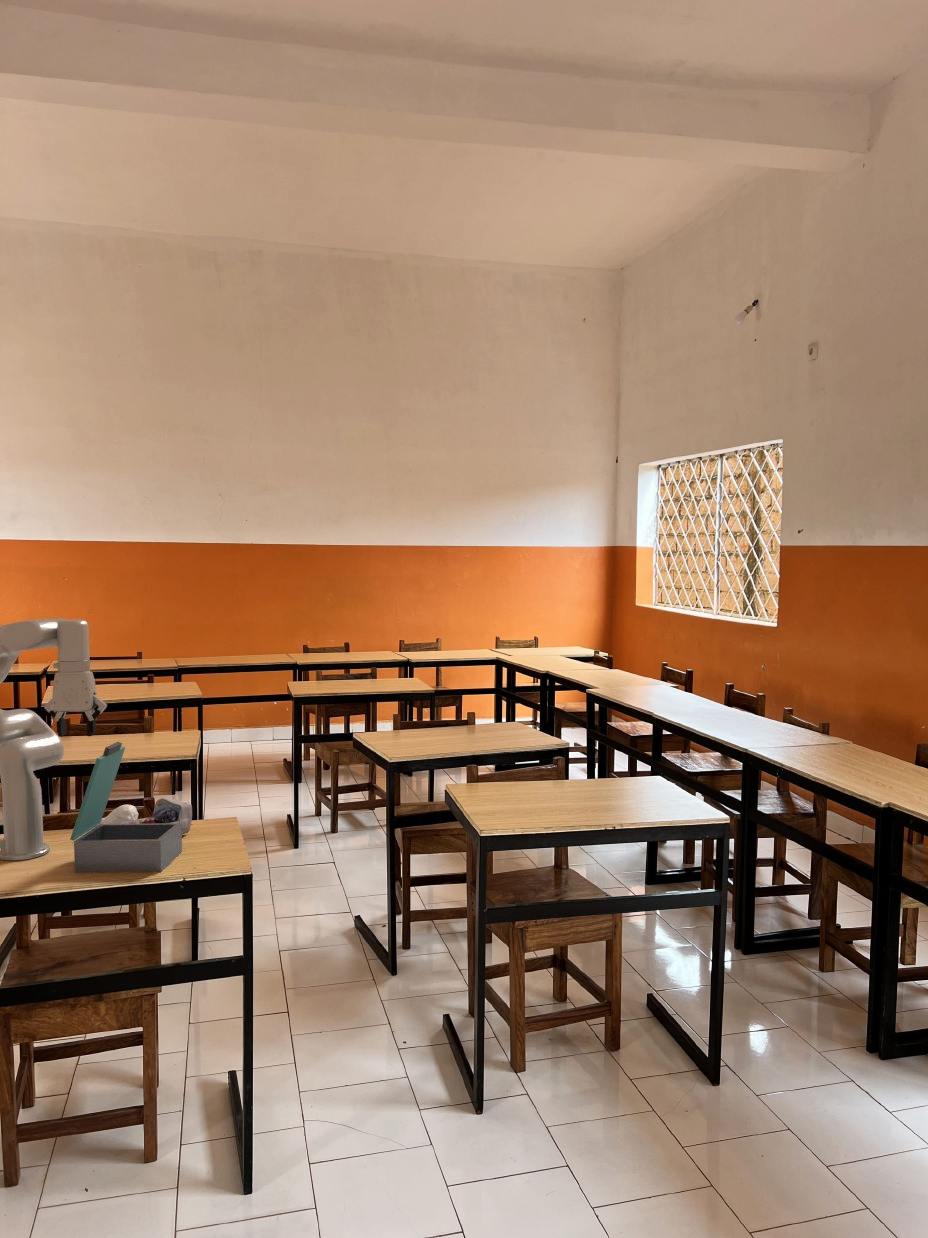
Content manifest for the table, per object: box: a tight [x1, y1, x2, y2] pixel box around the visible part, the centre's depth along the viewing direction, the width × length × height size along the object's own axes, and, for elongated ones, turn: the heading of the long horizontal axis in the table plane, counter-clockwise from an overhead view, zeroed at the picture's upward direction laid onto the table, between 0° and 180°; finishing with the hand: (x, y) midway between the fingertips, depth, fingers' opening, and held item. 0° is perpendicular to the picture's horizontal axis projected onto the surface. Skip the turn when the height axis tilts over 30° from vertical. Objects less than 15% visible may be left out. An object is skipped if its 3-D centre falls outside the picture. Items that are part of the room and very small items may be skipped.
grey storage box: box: [73, 823, 183, 874], centre depth 236 cm, size 22×16×8 cm
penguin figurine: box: [96, 804, 139, 827], centre depth 263 cm, size 6×8×12 cm
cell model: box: [120, 797, 193, 835], centre depth 255 cm, size 13×11×20 cm
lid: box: [69, 741, 126, 842], centre depth 235 cm, size 24×16×1 cm
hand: (76, 735), depth 235 cm, fingers open, 6 cm apart
